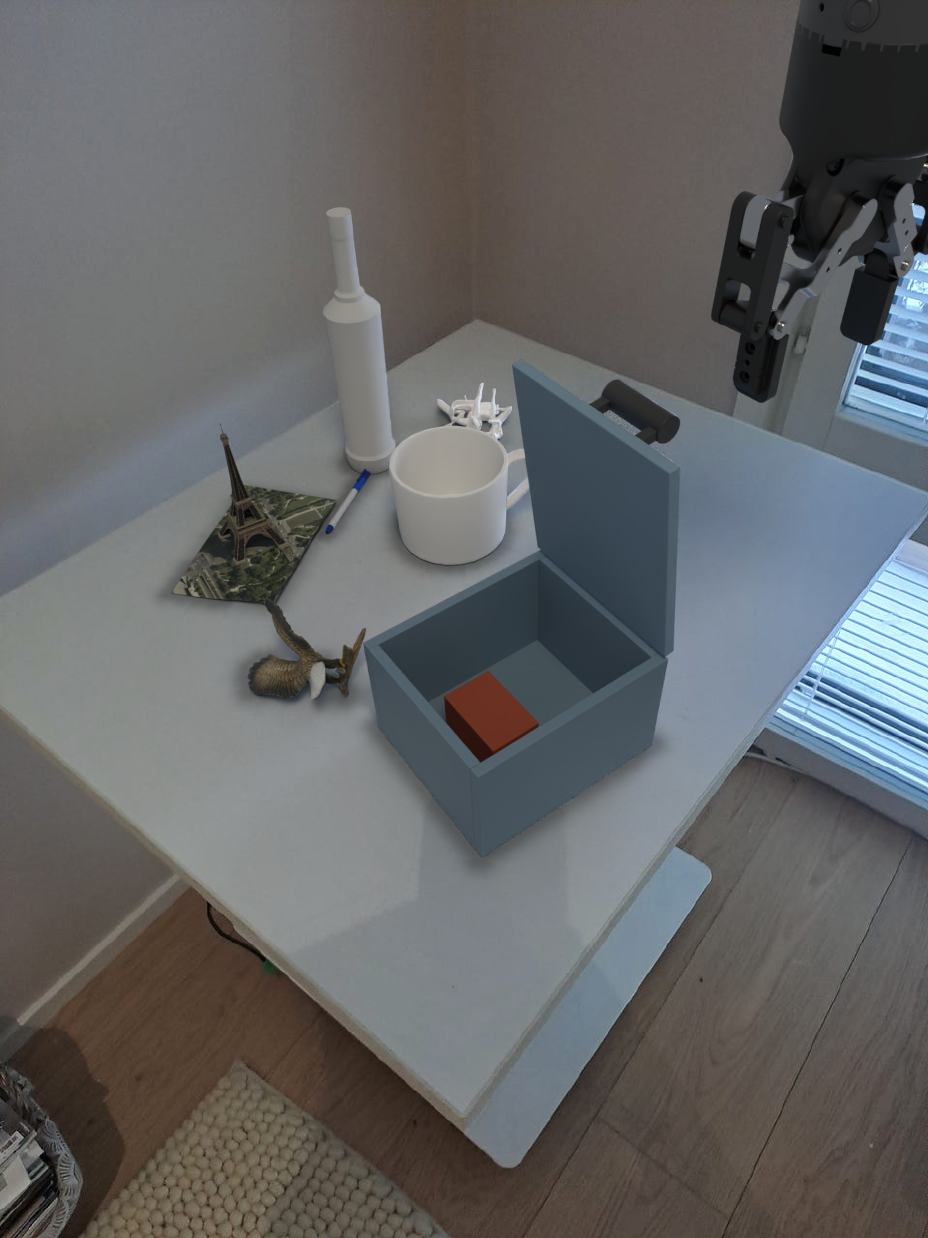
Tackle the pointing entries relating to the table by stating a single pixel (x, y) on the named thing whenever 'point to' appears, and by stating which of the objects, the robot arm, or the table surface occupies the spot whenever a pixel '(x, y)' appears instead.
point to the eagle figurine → (299, 664)
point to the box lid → (605, 496)
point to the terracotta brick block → (486, 716)
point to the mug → (452, 493)
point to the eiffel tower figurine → (253, 542)
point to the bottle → (357, 355)
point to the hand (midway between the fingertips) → (807, 365)
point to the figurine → (477, 413)
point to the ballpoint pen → (348, 500)
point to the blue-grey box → (517, 695)
